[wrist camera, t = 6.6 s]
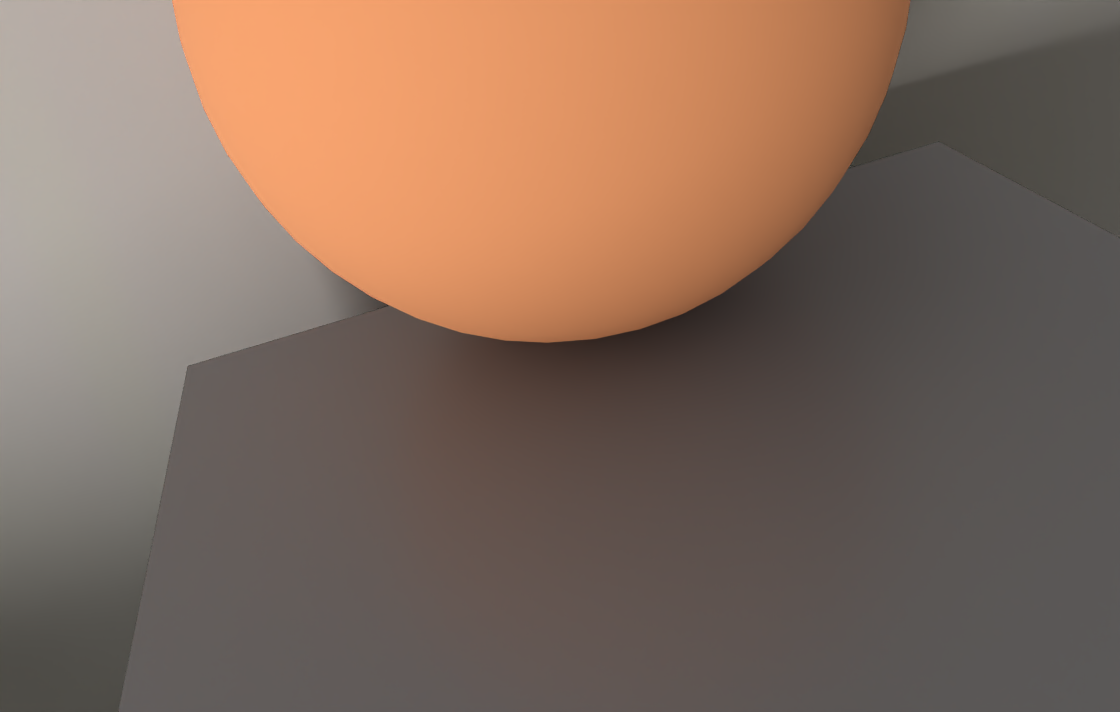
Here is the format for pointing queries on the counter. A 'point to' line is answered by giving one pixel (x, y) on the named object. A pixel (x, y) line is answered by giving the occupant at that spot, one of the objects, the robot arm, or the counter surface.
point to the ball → (542, 143)
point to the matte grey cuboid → (676, 490)
